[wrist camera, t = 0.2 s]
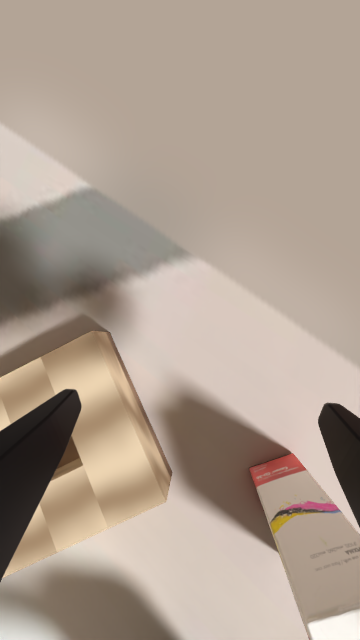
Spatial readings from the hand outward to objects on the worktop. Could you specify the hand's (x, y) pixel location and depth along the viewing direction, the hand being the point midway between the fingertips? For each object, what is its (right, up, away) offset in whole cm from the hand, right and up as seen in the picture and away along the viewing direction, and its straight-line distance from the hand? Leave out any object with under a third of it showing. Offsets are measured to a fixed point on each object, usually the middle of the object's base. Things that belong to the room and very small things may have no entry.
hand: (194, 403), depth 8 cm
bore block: (-12, -9, +15) cm, 21 cm away
